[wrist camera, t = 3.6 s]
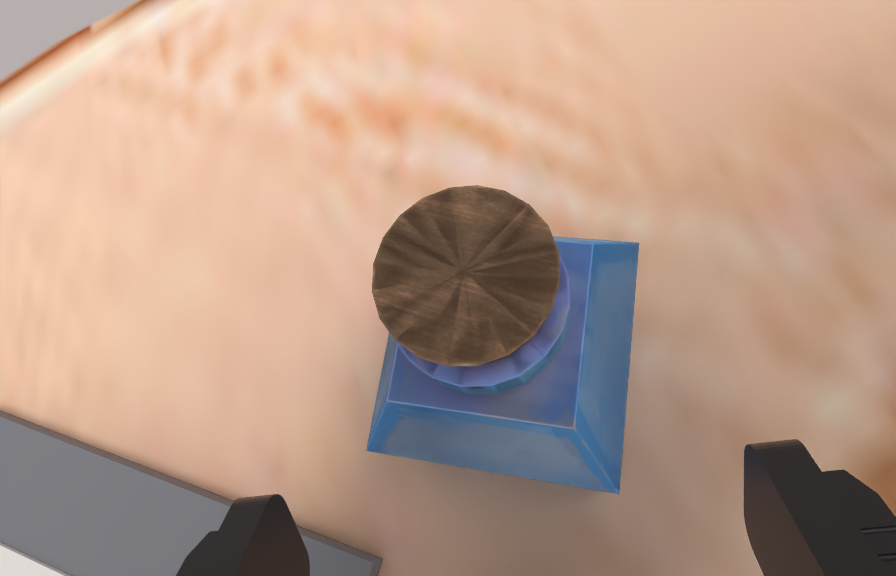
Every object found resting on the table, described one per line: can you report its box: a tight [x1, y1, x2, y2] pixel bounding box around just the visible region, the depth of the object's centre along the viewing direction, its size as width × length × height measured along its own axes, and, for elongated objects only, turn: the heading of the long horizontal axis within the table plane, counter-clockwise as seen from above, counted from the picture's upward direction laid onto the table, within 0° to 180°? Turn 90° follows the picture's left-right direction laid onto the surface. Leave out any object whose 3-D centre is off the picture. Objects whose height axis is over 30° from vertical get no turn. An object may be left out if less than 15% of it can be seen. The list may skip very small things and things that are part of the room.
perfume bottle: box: [367, 185, 639, 494], centre depth 15 cm, size 6×6×12 cm
